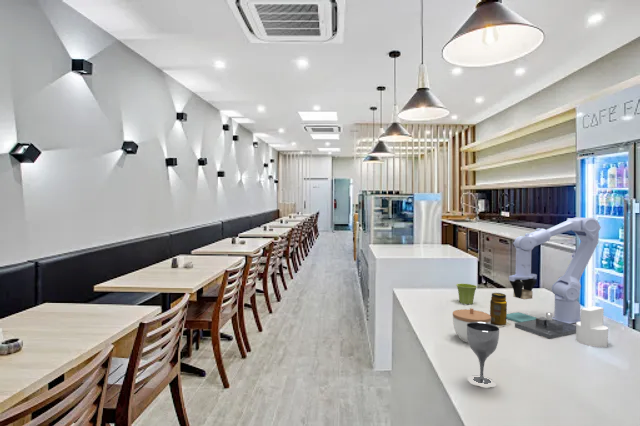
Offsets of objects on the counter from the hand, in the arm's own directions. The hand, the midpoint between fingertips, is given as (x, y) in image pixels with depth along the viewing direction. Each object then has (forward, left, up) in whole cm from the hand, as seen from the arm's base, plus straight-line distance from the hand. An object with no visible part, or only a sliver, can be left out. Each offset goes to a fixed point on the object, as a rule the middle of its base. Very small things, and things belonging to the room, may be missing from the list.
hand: (522, 296), depth 156 cm
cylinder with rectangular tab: (+1, +28, -10) cm, 29 cm away
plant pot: (+2, -29, -10) cm, 31 cm away
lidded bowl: (+39, +10, -10) cm, 41 cm away
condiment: (+15, 0, -10) cm, 18 cm away
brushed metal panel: (+2, +13, -10) cm, 16 cm away
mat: (0, -1, -10) cm, 10 cm away
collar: (0, 0, 0) cm, 0 cm away
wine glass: (+61, +35, -10) cm, 71 cm away
